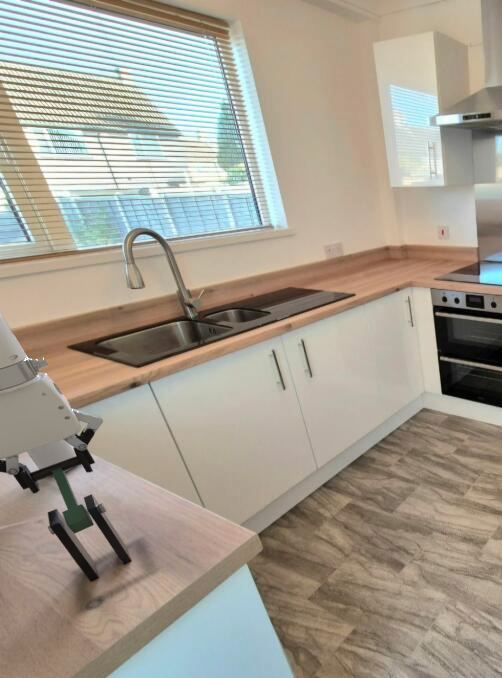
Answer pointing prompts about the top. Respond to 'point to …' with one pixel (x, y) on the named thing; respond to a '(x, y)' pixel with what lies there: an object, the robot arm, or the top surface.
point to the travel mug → (52, 454)
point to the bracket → (75, 546)
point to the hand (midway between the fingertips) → (62, 477)
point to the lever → (66, 493)
